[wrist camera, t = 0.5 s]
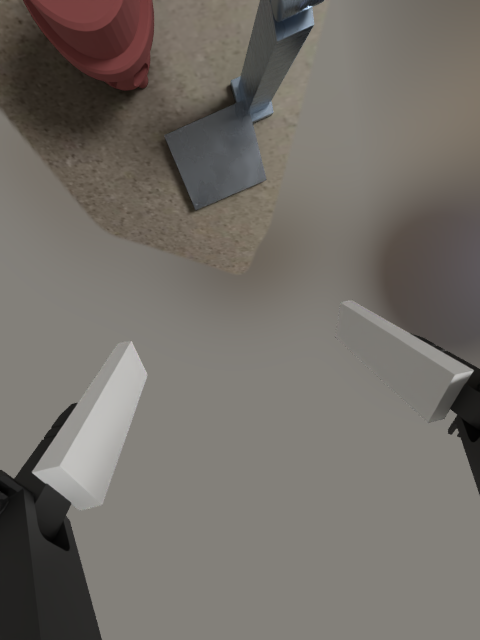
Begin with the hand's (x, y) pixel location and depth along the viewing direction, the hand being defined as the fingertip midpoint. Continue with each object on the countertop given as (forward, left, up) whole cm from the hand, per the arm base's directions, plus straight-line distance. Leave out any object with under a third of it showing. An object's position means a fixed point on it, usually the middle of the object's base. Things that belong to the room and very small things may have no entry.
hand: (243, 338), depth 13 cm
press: (-14, +7, -25) cm, 30 cm away
